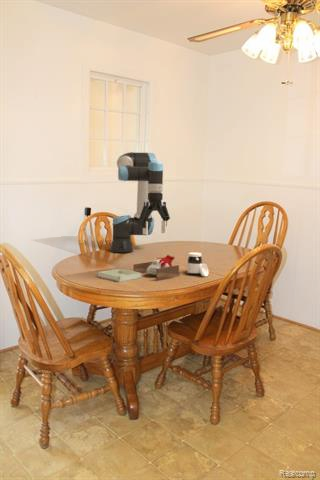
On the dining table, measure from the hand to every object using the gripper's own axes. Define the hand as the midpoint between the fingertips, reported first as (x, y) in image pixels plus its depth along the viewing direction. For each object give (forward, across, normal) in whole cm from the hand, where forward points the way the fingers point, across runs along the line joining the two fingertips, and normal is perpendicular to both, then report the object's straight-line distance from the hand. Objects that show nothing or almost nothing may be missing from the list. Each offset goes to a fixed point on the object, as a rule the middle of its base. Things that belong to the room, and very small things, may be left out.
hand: (154, 233), depth 215 cm
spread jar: (+23, +20, -13) cm, 33 cm away
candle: (+23, 0, 0) cm, 23 cm away
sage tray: (+22, -15, +10) cm, 29 cm away
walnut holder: (+22, 0, 0) cm, 22 cm away
